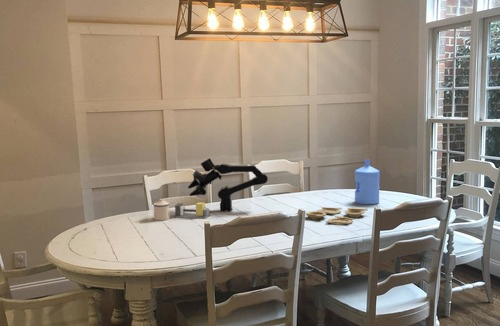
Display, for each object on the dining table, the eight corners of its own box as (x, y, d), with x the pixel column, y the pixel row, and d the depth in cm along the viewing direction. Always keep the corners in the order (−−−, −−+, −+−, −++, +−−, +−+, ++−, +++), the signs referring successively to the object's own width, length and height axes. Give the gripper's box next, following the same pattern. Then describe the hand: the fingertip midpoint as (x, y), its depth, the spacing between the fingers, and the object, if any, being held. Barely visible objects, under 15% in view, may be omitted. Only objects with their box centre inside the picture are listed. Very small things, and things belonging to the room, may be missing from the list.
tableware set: (325, 209, 290) (325, 202, 289) (370, 214, 273) (370, 207, 272) (297, 220, 261) (297, 213, 261) (345, 227, 244) (345, 220, 244)
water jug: (382, 201, 307) (383, 159, 304) (374, 205, 294) (375, 161, 291) (359, 199, 316) (359, 158, 312) (351, 203, 303) (351, 160, 299)
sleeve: (205, 214, 275) (204, 202, 274) (202, 215, 270) (202, 204, 270) (198, 213, 276) (198, 202, 275) (196, 215, 271) (195, 204, 270)
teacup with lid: (172, 219, 269) (171, 199, 267) (158, 221, 263) (157, 201, 262) (163, 215, 278) (162, 196, 277) (149, 217, 273) (148, 198, 271)
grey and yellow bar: (210, 215, 276) (209, 203, 275) (206, 218, 268) (205, 206, 268) (179, 214, 280) (179, 202, 279) (174, 217, 272) (174, 205, 271)
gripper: (200, 161, 290) (179, 175, 291) (204, 175, 274) (182, 190, 275) (210, 174, 296) (190, 187, 297) (215, 188, 280) (193, 202, 281)
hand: (189, 191), depth 287 cm, fingers open, 9 cm apart
